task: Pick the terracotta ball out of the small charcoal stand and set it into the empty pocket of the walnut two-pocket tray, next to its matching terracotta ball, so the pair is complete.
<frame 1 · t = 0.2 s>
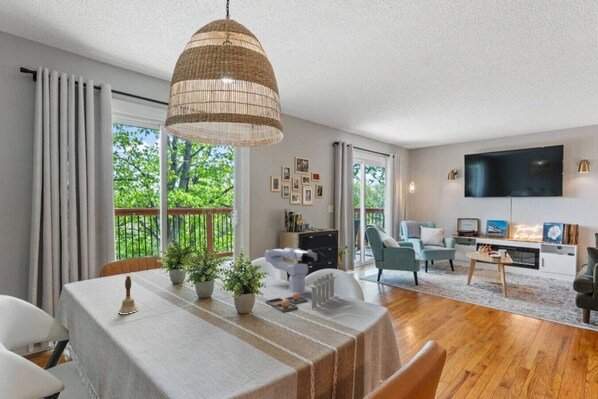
hand: (320, 259, 154), 21 cm above the table, tool horizontal, fingers open, 7 cm apart
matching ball: (285, 307, 144), resting on pair tray
hand bell: (128, 312, 141), on the table
test tube rack: (323, 303, 153), on the table
pair tray: (281, 306, 147), on the table
terracotta ball: (296, 300, 155), resting on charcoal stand
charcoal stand: (296, 301, 155), on the table
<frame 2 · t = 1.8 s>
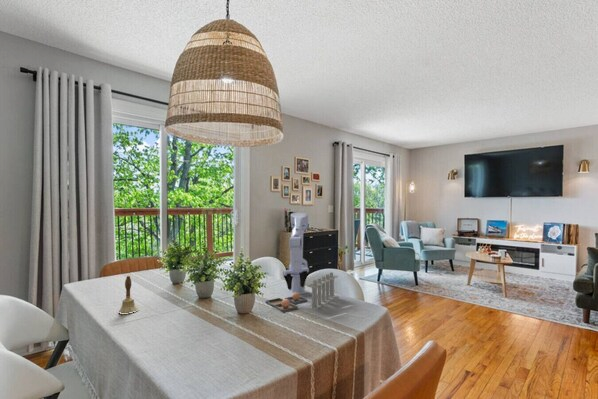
hand: (296, 287, 155), 7 cm above the table, tool pointing down, fingers open, 7 cm apart
nothing on the table moved.
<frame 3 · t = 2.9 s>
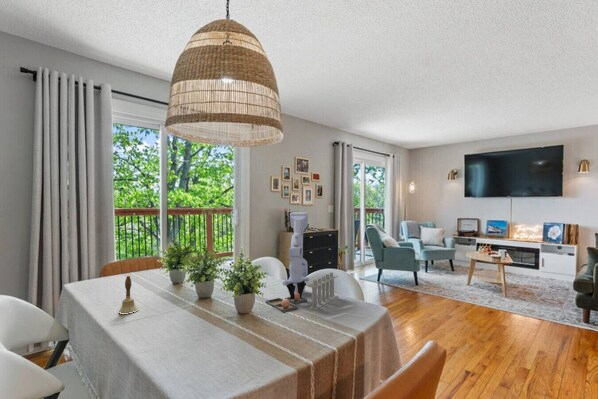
hand: (296, 297, 155), 2 cm above the table, tool pointing down, fingers closed on terracotta ball, 4 cm apart
terracotta ball: (296, 300, 155), resting on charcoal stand, touching gripper
everything else where it was.
when the fingers open (2 cm above the table, at t = 6.4 s): terracotta ball stays where it is, resting on pair tray.
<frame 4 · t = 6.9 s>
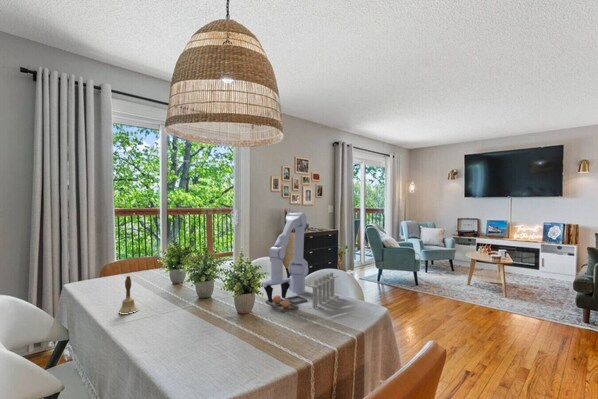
hand: (276, 299, 150), 2 cm above the table, tool pointing down, fingers open, 7 cm apart
terracotta ball: (276, 303, 150), resting on pair tray
everything else where it was.
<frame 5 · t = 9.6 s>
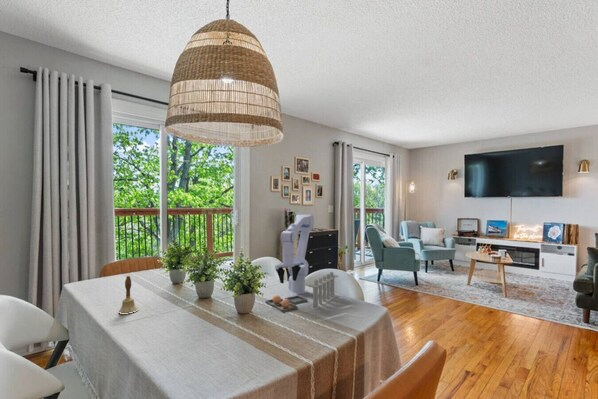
hand: (288, 281, 157), 9 cm above the table, tool pointing down, fingers open, 7 cm apart
nothing on the table moved.
at the end: terracotta ball 0.2 cm from the target spot on the pair tray, point 0.5 cm above the pair tray's base; the gripper is holding nothing; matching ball 0.1 cm from the target spot on the pair tray, point 0.5 cm above the pair tray's base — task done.
